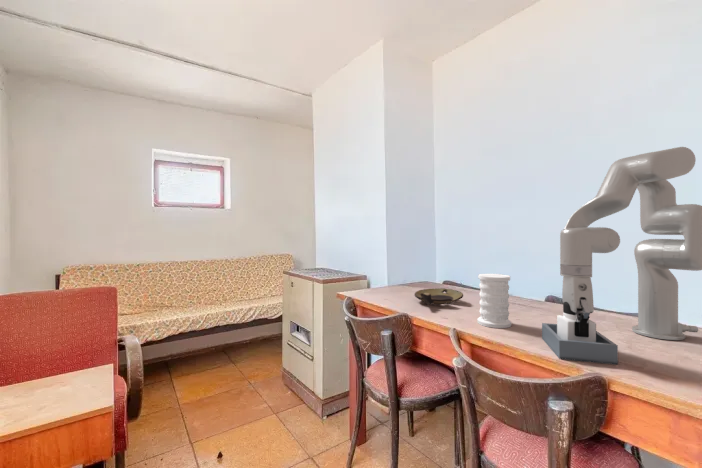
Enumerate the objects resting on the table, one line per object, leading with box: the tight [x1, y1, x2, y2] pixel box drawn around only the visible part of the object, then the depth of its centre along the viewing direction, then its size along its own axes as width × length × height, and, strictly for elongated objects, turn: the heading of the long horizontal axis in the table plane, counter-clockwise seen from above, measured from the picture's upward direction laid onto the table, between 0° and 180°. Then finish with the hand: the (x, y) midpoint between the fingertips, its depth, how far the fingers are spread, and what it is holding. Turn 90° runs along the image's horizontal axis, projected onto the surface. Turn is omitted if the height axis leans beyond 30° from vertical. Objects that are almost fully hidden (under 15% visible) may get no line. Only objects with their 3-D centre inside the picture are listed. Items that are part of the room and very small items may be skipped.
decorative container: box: [476, 273, 512, 329], centre depth 118 cm, size 12×12×18 cm
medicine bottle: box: [556, 302, 597, 342], centre depth 91 cm, size 7×7×12 cm
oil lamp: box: [413, 287, 464, 306], centre depth 152 cm, size 22×30×8 cm
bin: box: [541, 322, 619, 366], centre depth 91 cm, size 13×17×5 cm
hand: (575, 331), depth 91 cm, fingers closed on medicine bottle, 7 cm apart
